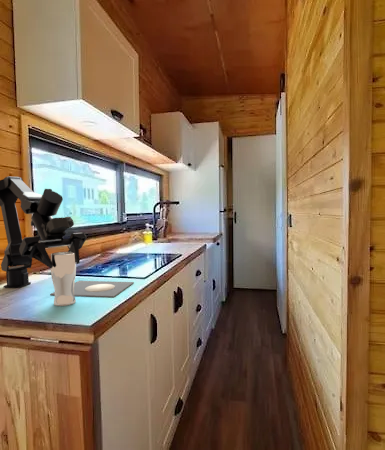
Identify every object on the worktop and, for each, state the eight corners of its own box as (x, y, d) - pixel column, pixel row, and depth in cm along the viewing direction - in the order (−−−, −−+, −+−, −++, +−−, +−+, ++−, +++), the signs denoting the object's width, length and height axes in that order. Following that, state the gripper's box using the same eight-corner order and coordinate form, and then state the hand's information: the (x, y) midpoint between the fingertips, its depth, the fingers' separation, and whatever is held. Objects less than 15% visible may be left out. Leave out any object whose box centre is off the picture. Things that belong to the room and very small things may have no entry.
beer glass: (50, 307, 87) (47, 255, 86) (54, 300, 93) (52, 252, 92) (76, 305, 88) (74, 254, 87) (78, 298, 95) (76, 251, 94)
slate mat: (50, 295, 99) (50, 293, 99) (79, 281, 117) (79, 280, 117) (114, 297, 96) (113, 295, 96) (133, 283, 114) (133, 281, 113)
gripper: (21, 208, 84) (41, 251, 78) (82, 207, 99) (103, 243, 93) (11, 235, 90) (29, 277, 83) (70, 231, 104) (90, 266, 98)
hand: (65, 265), depth 89 cm, fingers open, 8 cm apart
